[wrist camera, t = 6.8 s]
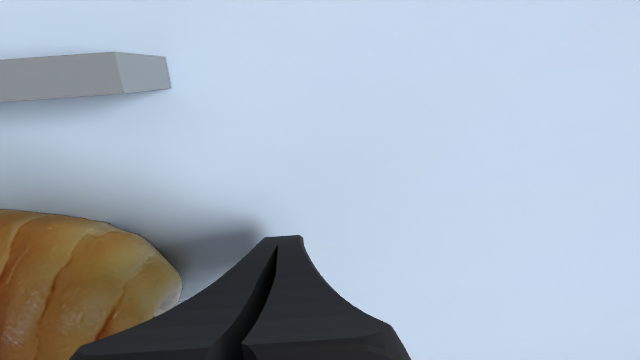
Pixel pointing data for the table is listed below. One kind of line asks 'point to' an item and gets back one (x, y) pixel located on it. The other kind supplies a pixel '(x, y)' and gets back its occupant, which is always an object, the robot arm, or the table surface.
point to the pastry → (75, 283)
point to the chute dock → (81, 75)
